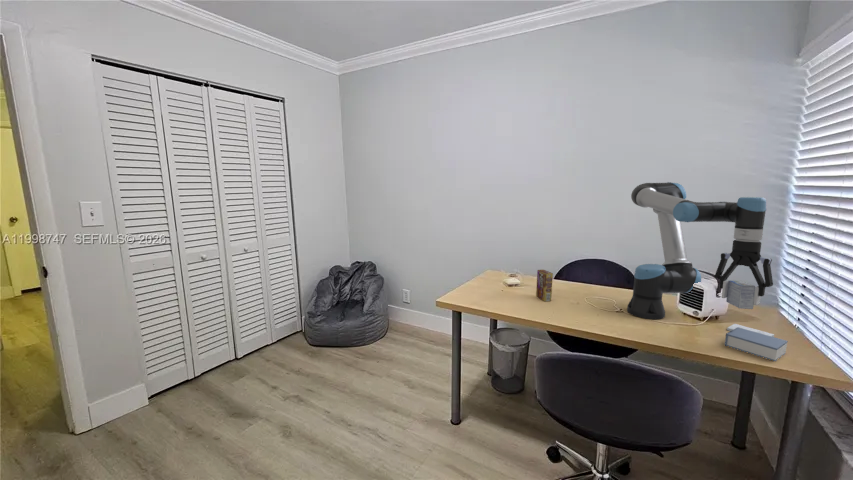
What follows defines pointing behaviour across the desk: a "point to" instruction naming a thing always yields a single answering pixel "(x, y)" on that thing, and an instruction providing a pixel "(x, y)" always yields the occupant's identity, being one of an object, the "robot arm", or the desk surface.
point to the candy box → (544, 285)
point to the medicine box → (741, 294)
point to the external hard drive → (748, 329)
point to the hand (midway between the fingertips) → (739, 300)
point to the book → (756, 343)
